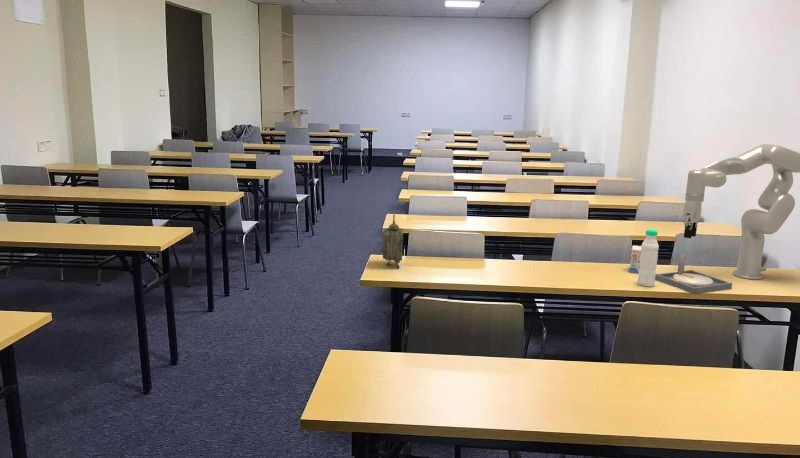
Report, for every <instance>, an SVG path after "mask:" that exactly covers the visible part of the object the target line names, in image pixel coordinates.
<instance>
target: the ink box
mask: <svg viewBox="0 0 800 458" xmlns="http://www.w3.org/2000/svg"><path fill="white" fill-rule="evenodd" d="M641 249H642V247H641V245H632V247H631V250H630V251H631V252H630V253H631V254H630V259H629V260H630V262H629V270H628V271H629V273H632V274H639V268H640V255H641Z"/></svg>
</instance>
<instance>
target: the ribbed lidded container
mask: <svg viewBox="0 0 800 458" xmlns="http://www.w3.org/2000/svg"><path fill="white" fill-rule="evenodd" d="M392 216H393V218H392V223H391V224H390V225H388V227H387V228H385V229H384V230H383V233H382V259H383V260H385V261H388V262H386V265H387V267H388V266H390V265H391V261H394V262H395V265H396V269H400V265H399V263H400V262H402V261H403V238H404V237H403V234H404V233H403V228H400V226H399V225H398V223H396V220H395V217H396V215H395V214H393V215H392Z"/></svg>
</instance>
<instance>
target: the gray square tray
mask: <svg viewBox="0 0 800 458" xmlns="http://www.w3.org/2000/svg"><path fill="white" fill-rule="evenodd" d="M677 272H678V270H675V271H670V272H663V273H656V276H655V281H658V282H660V283H663V284H666V285H668V286H671V287H674V288H676V287H677V288H676V289H679V288H680V289H679V290H682V289H683V290H682V291H684V290H685V292H687V291H688V293H690V294H693V295H697V294H705V293H711V292H717V291H718V292H719V291H724V290H731V289H732V288H733V283H732V282H731V281H730V282H729V281H726V280H723V279H720V278H717V277H714V276H711V275H708V274H705V273H702V272H698V271H695V270H692V269H687V270H684V273H690V274H698V275H702V276H706V277H709V278H711V279H712V280H713V284H712V285H708V286H700V287H697V286H690V285H687V284H684V283H681V282H680V281H677V280H674V279H673V275H675V274H677Z"/></svg>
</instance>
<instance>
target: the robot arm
mask: <svg viewBox="0 0 800 458" xmlns="http://www.w3.org/2000/svg"><path fill="white" fill-rule="evenodd" d="M767 164H768V165H771V167H772V171H773V172H772V173H773V174H772V175H773V176H772V178H771V180H770V182H769V183H768V185H767V186H766V188H765V189H764V190H763V191H762V193H761V194H760V196H759V198H758V200H757V205H758V206H759V208H761V209H763V210H761V209H757V208H754V209H753V208H751V209H748V210H746V211H745V212H744V213H743V214H742V216H741V218H740V219H741V220H740V222H741V223H740V224H741V237H740V243H739V250H738V257H737V258H738V259H737V263H736V269H734V270H732V275H733V276H735V277H738V278H741V279H745V280H761V279H763V278H764V275H763V274H762V272H766V271H767V267H766V266H762V262H763V255H764V254H763V253H764V247H765V242H766V240H765V235H773V234H775V233H776V232H778V231H779V230H780V229H781V227H783V225H784V224H785V223H786V220H787V219H788V218H789V217H790V215H791V214H792V213H793V211H794V209H795V206H796V201H795V198H794V196H793V194H790V193H789V191H790V190H791V189H792V187H793V184H794V176H793V175H794V174H795V173H797V174H799V173H800V152H798V151H795V150H792V149H790V148H786V147H784V146H781V145H776V144H768V143H765V144H760V145H758V146H755V147H753V148H752V149H749V150H746V151H745V152H743V153H740V154H739V155H737V156H732V157H730V158H725V159H722V160H718V161H715V162H713V163H710V164H708V165H706V166H703V167H702V168H701V169H691V170H689V171H688V174H687V180H686V181H687V182H686V189H685V197H684V201H685V203H684V206H683V210H682V211H683V212H682V216H681V218H682V219H681V222H682V223H684V224H683V225H684V231H683V232H684V233H683V238H685V239H692V237H696V236H697V230H698V222H699V221H701V216H702V205H703V204H702V203H704V199H705V194H706V193H705V190H706V187H710V188H720V187H722V186H724V185H725V184H726V183H727V179H728V178H727V176H730V175H732V176H733V175H742V174H746V173H749V172H751V171H752V170H753V171H754V170H755V169H757V168H759V167H762V166H763V165H767ZM793 173H794V174H793ZM765 210H766V211H765Z"/></svg>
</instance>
